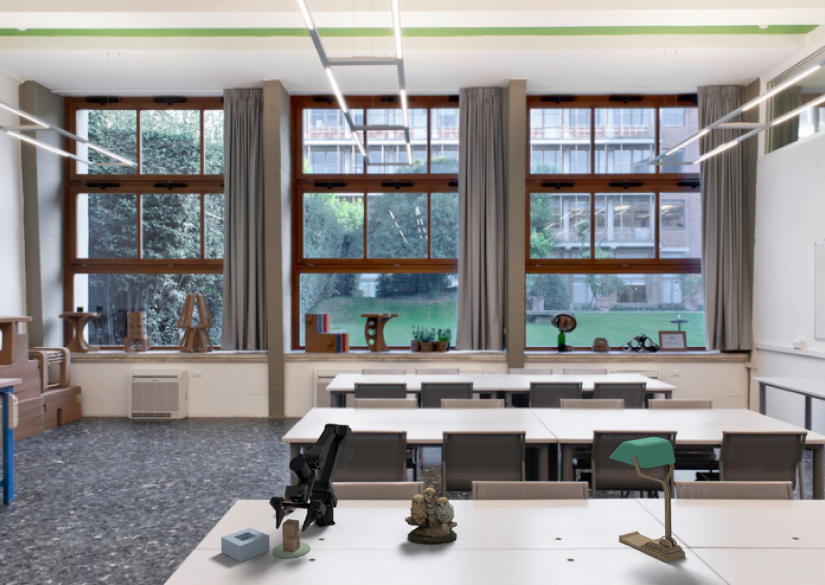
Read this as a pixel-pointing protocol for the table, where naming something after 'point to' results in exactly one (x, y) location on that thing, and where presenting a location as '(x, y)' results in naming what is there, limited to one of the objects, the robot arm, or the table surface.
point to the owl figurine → (431, 519)
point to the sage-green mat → (299, 552)
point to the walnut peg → (291, 535)
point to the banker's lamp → (658, 454)
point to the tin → (288, 507)
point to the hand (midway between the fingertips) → (289, 530)
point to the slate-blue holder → (245, 544)
